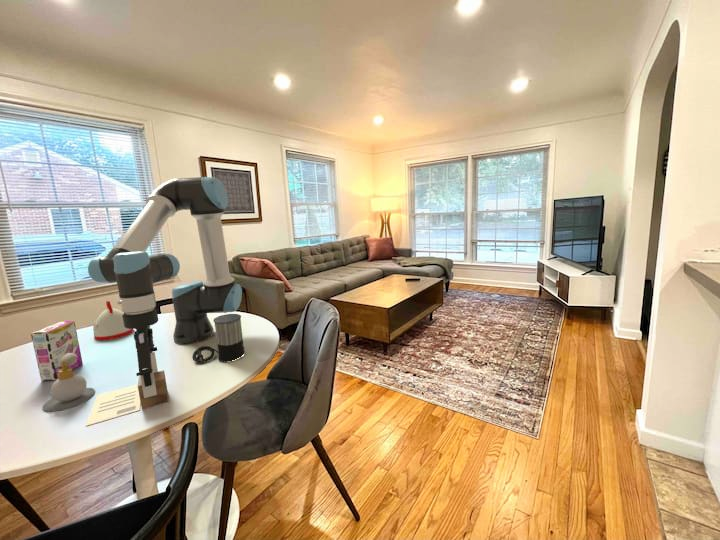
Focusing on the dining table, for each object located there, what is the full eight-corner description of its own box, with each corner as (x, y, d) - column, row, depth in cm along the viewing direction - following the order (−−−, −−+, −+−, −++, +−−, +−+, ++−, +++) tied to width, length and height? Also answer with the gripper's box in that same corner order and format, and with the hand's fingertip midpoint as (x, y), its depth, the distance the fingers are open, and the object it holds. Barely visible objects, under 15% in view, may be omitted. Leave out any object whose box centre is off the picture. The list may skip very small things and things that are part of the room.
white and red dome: (130, 326, 149) (124, 295, 146) (136, 333, 139) (130, 300, 136) (92, 335, 139) (85, 302, 136) (96, 343, 129) (89, 308, 127)
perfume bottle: (56, 410, 84) (46, 368, 81) (49, 397, 90) (40, 359, 87) (91, 396, 89) (83, 357, 87) (83, 385, 95) (75, 349, 93)
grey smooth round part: (98, 384, 96) (97, 383, 96) (90, 402, 87) (90, 401, 87) (49, 396, 91) (49, 395, 91) (36, 417, 82) (36, 415, 82)
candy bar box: (57, 380, 100) (46, 332, 97) (40, 381, 100) (28, 333, 97) (84, 363, 111) (75, 320, 108) (69, 365, 111) (59, 321, 108)
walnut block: (167, 392, 91) (164, 370, 90) (168, 402, 86) (164, 379, 85) (143, 399, 88) (138, 376, 87) (142, 410, 83) (137, 386, 82)
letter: (143, 383, 96) (143, 383, 96) (139, 410, 83) (139, 409, 83) (97, 395, 91) (97, 394, 91) (85, 426, 77) (85, 425, 77)
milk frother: (250, 356, 113) (245, 317, 110) (204, 373, 102) (198, 330, 99) (232, 345, 122) (228, 309, 120) (189, 359, 111) (183, 320, 109)
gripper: (127, 302, 91) (138, 370, 94) (115, 326, 70) (130, 412, 73) (157, 298, 95) (167, 363, 98) (155, 319, 74) (167, 401, 77)
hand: (151, 384), depth 86 cm, fingers open, 13 cm apart
